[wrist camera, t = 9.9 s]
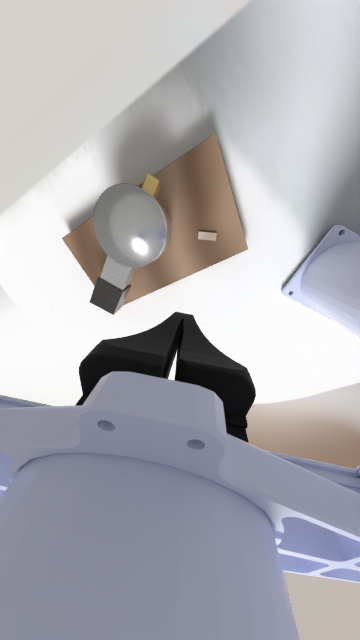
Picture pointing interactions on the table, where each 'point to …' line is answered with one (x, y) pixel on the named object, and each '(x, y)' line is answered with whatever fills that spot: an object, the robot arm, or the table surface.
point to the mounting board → (179, 223)
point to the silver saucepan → (128, 237)
